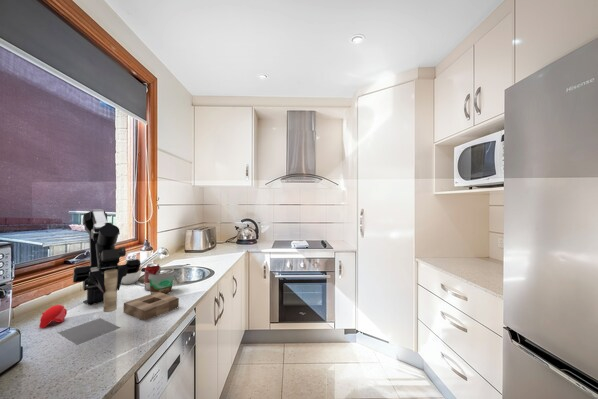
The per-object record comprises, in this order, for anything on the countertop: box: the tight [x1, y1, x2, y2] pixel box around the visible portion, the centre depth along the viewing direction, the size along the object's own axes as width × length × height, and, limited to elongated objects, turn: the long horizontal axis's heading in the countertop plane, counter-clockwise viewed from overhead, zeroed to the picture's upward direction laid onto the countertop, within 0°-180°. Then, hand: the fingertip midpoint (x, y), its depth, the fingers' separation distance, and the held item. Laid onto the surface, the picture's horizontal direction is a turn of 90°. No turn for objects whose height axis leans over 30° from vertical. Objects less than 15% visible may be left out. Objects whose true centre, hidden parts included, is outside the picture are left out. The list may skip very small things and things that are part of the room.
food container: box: [148, 268, 176, 295], centre depth 119 cm, size 12×6×10 cm, turn 148°
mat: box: [57, 317, 121, 346], centre depth 84 cm, size 14×12×1 cm
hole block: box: [122, 292, 180, 321], centre depth 101 cm, size 14×14×4 cm
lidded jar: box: [121, 265, 143, 285], centre depth 134 cm, size 11×11×9 cm
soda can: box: [144, 262, 161, 291], centre depth 125 cm, size 7×7×12 cm
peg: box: [102, 269, 118, 313], centre depth 86 cm, size 4×4×14 cm
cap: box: [38, 304, 68, 329], centre depth 88 cm, size 8×6×6 cm
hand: (111, 291), depth 85 cm, fingers closed on peg, 4 cm apart
